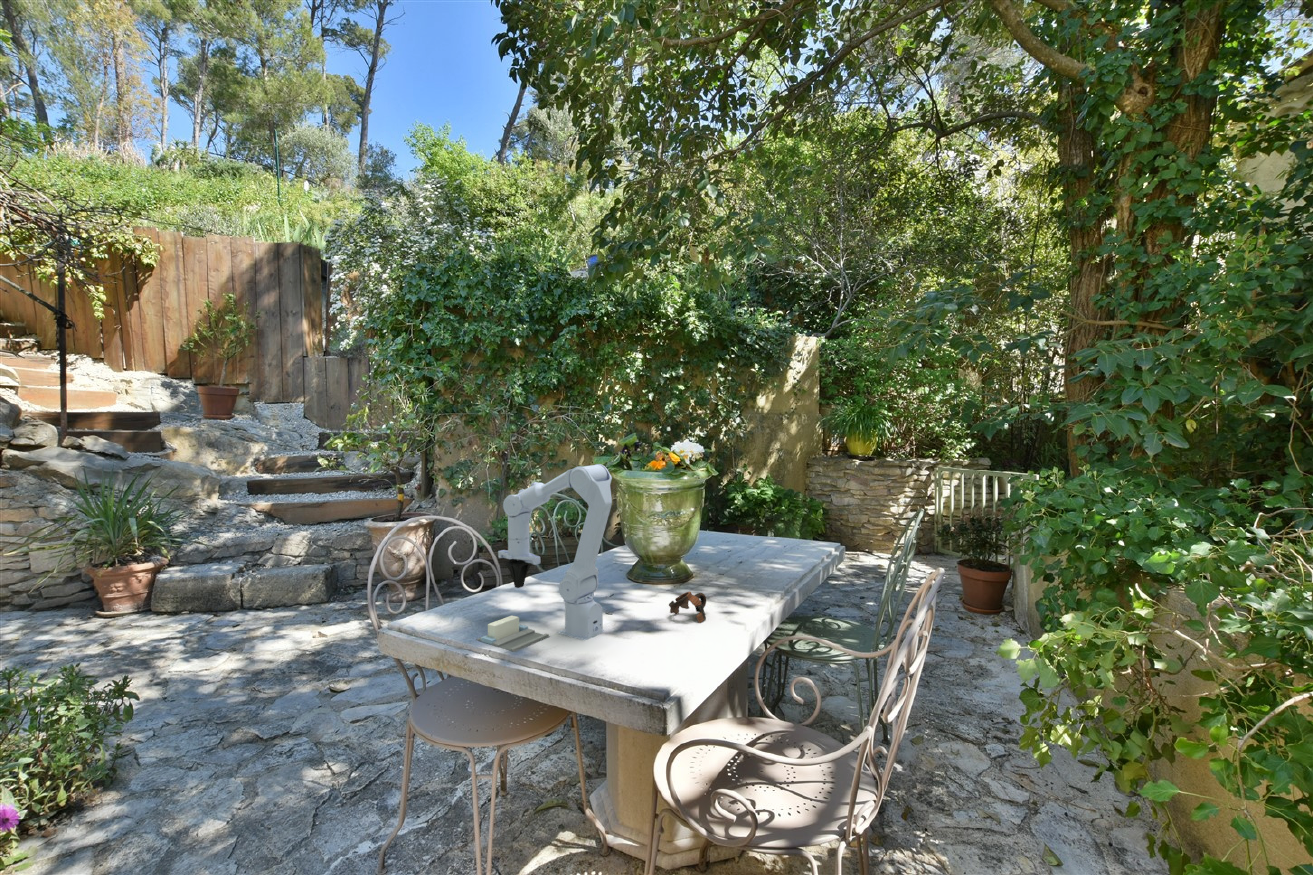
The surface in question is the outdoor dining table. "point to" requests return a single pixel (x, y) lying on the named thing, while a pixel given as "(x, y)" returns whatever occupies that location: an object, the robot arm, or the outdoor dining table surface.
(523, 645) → the duct plate
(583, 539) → the robot arm
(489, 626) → the cream foam block
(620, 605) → the outdoor dining table surface
